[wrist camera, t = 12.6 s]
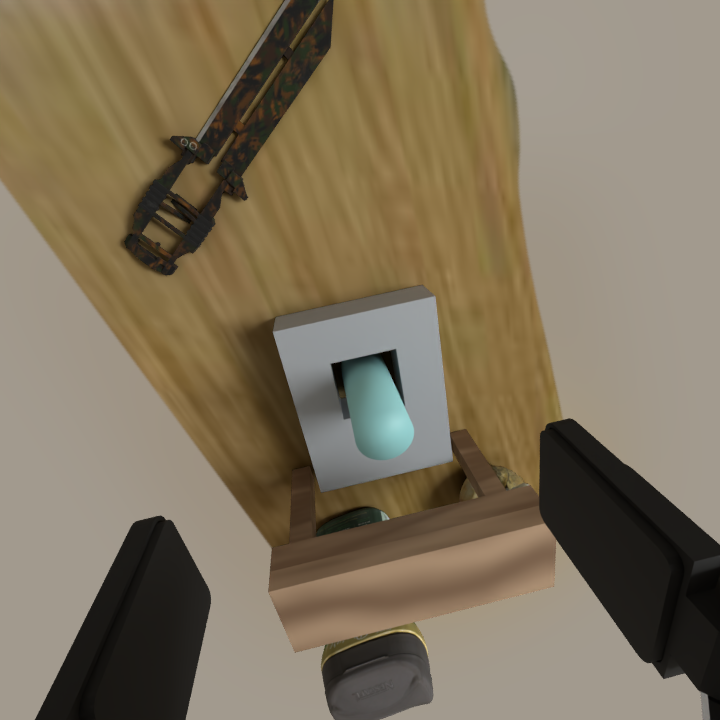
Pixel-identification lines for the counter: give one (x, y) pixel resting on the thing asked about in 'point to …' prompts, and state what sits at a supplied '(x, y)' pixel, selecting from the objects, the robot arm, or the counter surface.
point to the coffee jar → (374, 658)
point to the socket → (356, 339)
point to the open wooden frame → (409, 559)
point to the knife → (237, 126)
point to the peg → (375, 408)
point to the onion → (505, 477)
